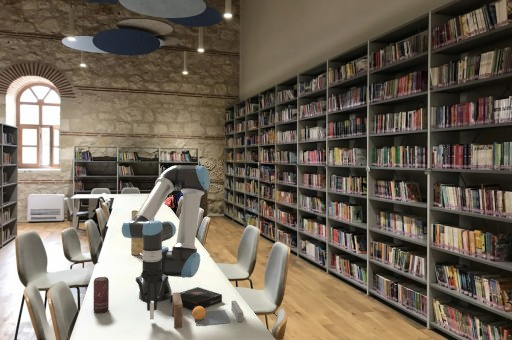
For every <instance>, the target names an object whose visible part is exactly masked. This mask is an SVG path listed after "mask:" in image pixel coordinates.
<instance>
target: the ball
mask: <svg viewBox="0 0 512 340" xmlns="http://www.w3.org/2000/svg"><path fill="white" fill-rule="evenodd" d="M191 314H192V315H191V316H192V317H193V319H196V320H202V319H203V318H204V317H205V315H206V308H203V307H202V306H197V307H195V308H194V309H193V311H192V313H191Z"/></svg>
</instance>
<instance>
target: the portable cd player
mask: <svg viewBox="0 0 512 340" xmlns="http://www.w3.org/2000/svg"><path fill="white" fill-rule="evenodd" d="M180 296H181V300H182V308H184V309H186V308H187V310H189V311H192V310H193V309H194V308H195V307H197V306H202V307H203V308H204V309H206V308H209V307H212V306H215V305H218V304H220V303H223V294H222V293H219V292H215V291H212V290H209V289H205V288H203V287H200V286H196V287H193V288H191V289H187V290H183V291H181V292H180ZM169 302H170V303H171V304H172V295H171V297H170V298H169Z"/></svg>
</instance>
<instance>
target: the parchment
mask: <svg viewBox="0 0 512 340" xmlns="http://www.w3.org/2000/svg"><path fill="white" fill-rule="evenodd" d="M138 211H139V210H137V209H136V210H135V209H134V210H131V217H130V218H131V219H130V220H131V221H132V220H133V219H134V217H135V216H136V214H137V213H138ZM152 221H155V218H154V219H153V220H152ZM130 240H131V241H130V242H131V244H130V250H131V251H130V253H131V255H133V256H134V255H135V256H139V255H140V254H141V255H143V239H132V238H130Z"/></svg>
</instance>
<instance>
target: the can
mask: <svg viewBox="0 0 512 340" xmlns="http://www.w3.org/2000/svg"><path fill="white" fill-rule="evenodd" d="M109 281H110V280H109V277H107V276H99V277H95V278H94V279H93V312H94V313H95V314H104V313H107V312H108V311H109V305H110V304H109V302H110V301H109V298H110V297H109V295H110V294H109V293H110V292H109V289H110V288H109V287H110V285H109V283H110V282H109Z"/></svg>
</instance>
